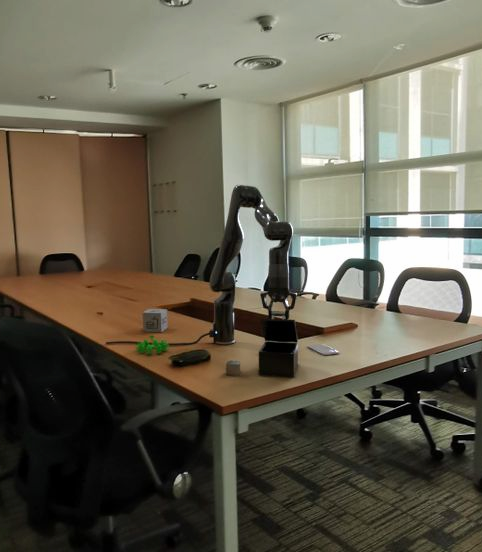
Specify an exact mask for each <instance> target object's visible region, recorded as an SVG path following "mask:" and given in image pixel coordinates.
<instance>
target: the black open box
mask: <svg viewBox="0 0 482 552" xmlns="http://www.w3.org/2000/svg"><path fill="white" fill-rule="evenodd" d="M298 365H299V342H277V341H265V340H264V343H262V346H261V347H260V349H259V351H258V376H261V377H262V376H264V377H279V378H295V375H296V371H297V369H298Z"/></svg>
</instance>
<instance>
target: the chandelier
mask: <svg viewBox="0 0 482 552" xmlns="http://www.w3.org/2000/svg"><path fill="white" fill-rule="evenodd" d="M149 338H151V343H152V345H150V344H149V342H150V341H149V340H148V339H144V340H143V341H137V342H138V343H139V344H135V348H136V351H137V353H138V354H141V355H142V354H144V353H145V352H146V354H147V355H149V356H150V355H151V354H152V351H153V348H154V349H155V353H156V354H157V355H160V354H161V353H162V352H164V353H165V352H168V350H170V349H169V348H170V345H168V343H169V342H167V340H166V339H161V340H160V341H159V342H158V339H157V338H155V335H154V334H151V335H149ZM153 339H154V340H153ZM143 342H144V343H143ZM158 343H159V344H160V345H159V344H158ZM165 343H166V344H165Z"/></svg>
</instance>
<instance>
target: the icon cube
mask: <svg viewBox="0 0 482 552" xmlns="http://www.w3.org/2000/svg"><path fill="white" fill-rule="evenodd" d="M167 329H168V309H163V308H162V309H161V308H159V309H158V308H148V309H146V310H145V311H143V312H142V332H143V333H144V332H145V333H163V332H164V331H165V330H167Z"/></svg>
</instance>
